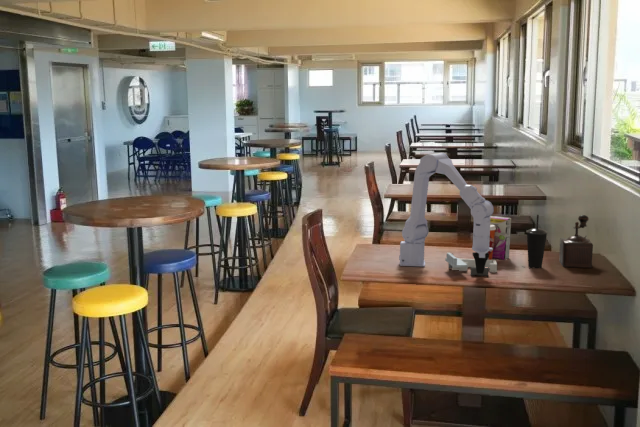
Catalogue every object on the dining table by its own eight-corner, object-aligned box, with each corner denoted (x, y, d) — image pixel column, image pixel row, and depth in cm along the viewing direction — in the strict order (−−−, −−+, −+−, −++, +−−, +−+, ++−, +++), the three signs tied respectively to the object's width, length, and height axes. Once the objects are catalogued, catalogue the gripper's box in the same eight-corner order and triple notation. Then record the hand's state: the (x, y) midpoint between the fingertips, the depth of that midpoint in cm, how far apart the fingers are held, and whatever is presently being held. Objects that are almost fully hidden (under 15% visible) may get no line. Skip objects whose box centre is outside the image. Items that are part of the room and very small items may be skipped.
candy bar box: (478, 256, 269) (479, 216, 266) (482, 254, 273) (484, 214, 270) (505, 260, 263) (507, 219, 260) (509, 258, 267) (511, 217, 264)
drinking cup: (523, 268, 251) (526, 215, 247) (525, 263, 258) (527, 212, 254) (545, 270, 248) (548, 217, 245) (545, 265, 255) (548, 213, 252)
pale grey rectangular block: (448, 270, 248) (449, 255, 247) (448, 265, 256) (448, 251, 255) (496, 272, 245) (497, 257, 244) (494, 266, 253) (495, 252, 252)
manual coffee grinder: (594, 268, 250) (597, 221, 247) (563, 267, 252) (566, 220, 249) (585, 258, 266) (588, 214, 262) (556, 257, 267) (558, 213, 264)
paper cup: (495, 262, 259) (496, 227, 257) (474, 262, 260) (476, 226, 258) (493, 258, 267) (495, 223, 264) (474, 257, 268) (475, 223, 266)
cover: (445, 260, 249) (445, 251, 249) (458, 259, 250) (458, 251, 249) (453, 267, 239) (453, 258, 238) (467, 267, 239) (467, 258, 238)
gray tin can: (470, 274, 243) (471, 275, 240) (470, 266, 243) (471, 267, 240) (487, 275, 242) (488, 276, 239) (487, 267, 242) (488, 268, 239)
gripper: (494, 240, 229) (493, 278, 231) (491, 231, 243) (489, 268, 245) (473, 239, 230) (472, 277, 232) (471, 231, 244) (470, 267, 246)
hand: (479, 272), depth 239 cm, fingers closed
